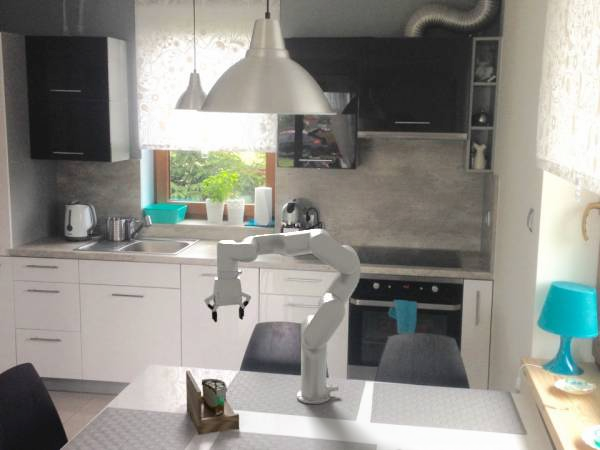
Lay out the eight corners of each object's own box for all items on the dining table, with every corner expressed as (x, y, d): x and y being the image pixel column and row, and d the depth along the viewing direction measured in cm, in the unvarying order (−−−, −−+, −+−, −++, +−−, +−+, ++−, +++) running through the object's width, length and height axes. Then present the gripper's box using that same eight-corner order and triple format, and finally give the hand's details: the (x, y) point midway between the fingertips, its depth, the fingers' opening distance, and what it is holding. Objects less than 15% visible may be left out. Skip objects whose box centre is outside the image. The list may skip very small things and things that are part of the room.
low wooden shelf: (225, 405, 260) (224, 366, 258) (239, 428, 242) (238, 386, 239) (186, 410, 256) (186, 370, 253) (198, 434, 237) (197, 392, 235)
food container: (233, 414, 246) (233, 387, 244) (217, 418, 242) (217, 390, 240) (217, 402, 256) (217, 375, 254) (201, 406, 252) (201, 379, 251)
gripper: (247, 270, 265) (248, 314, 268) (201, 273, 259) (202, 319, 262) (253, 275, 258) (253, 320, 261) (206, 278, 252) (207, 325, 255)
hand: (228, 319), depth 262 cm, fingers open, 9 cm apart
